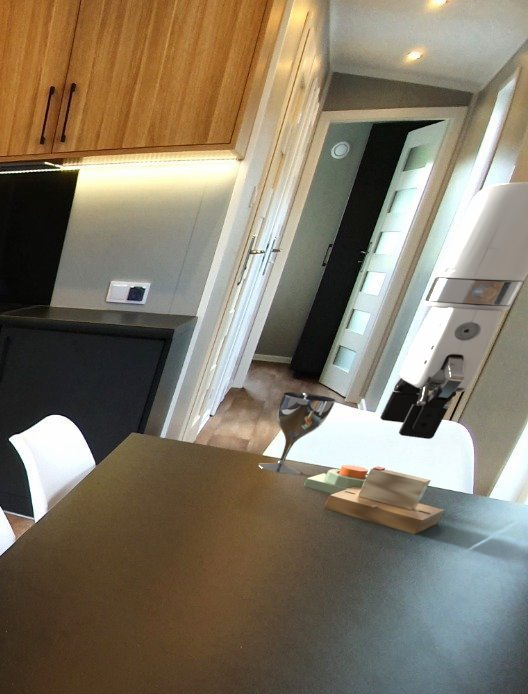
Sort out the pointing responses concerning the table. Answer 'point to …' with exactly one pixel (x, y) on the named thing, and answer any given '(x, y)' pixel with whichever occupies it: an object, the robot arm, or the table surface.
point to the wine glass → (298, 422)
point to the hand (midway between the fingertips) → (404, 428)
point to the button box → (333, 482)
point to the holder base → (383, 511)
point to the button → (353, 471)
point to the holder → (393, 488)
